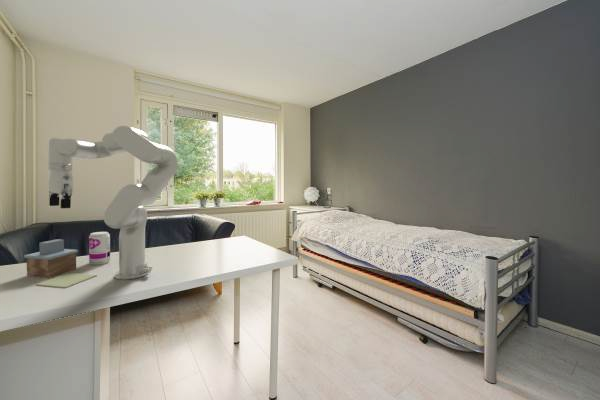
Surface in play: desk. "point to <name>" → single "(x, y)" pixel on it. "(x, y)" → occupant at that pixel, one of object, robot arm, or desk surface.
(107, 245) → the supplement can
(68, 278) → the felt mat
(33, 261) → the walnut box
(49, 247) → the lid
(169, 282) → the desk surface
